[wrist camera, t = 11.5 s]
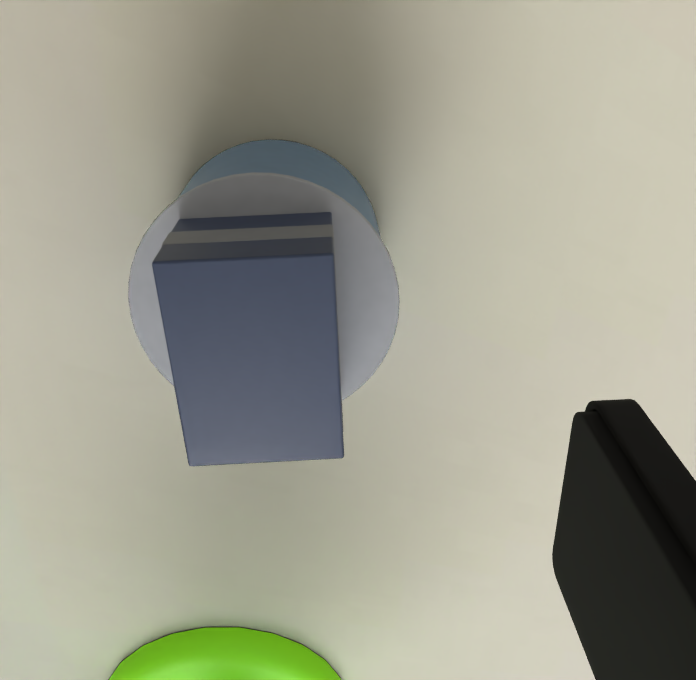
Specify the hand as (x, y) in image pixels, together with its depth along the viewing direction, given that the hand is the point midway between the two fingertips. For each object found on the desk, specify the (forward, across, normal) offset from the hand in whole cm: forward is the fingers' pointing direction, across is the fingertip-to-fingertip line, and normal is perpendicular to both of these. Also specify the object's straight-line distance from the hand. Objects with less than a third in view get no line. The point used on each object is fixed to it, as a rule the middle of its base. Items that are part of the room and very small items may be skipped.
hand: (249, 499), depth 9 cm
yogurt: (+20, +1, +4) cm, 21 cm away
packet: (+14, +1, +4) cm, 14 cm away
